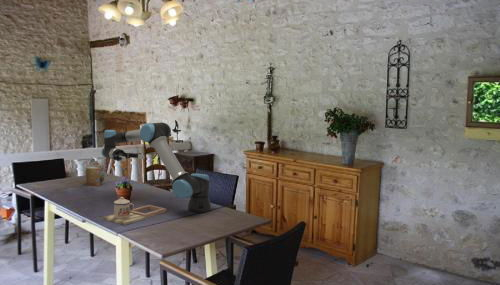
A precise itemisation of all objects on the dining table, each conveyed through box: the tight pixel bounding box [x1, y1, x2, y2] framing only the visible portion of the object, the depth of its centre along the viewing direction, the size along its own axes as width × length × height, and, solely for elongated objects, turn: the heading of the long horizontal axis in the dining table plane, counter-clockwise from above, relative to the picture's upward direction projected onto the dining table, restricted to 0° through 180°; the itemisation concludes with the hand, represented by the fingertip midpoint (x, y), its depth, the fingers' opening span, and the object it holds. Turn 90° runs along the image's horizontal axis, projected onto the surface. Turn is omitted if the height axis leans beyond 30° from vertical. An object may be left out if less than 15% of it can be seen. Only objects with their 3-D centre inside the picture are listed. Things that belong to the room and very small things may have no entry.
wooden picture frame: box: [130, 204, 167, 219], centre depth 257 cm, size 15×18×2 cm
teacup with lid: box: [113, 196, 135, 219], centre depth 241 cm, size 12×9×12 cm
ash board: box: [103, 213, 146, 226], centre depth 242 cm, size 18×15×2 cm
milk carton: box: [85, 159, 105, 187], centre depth 332 cm, size 11×11×19 cm
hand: (134, 158), depth 264 cm, fingers open, 13 cm apart
